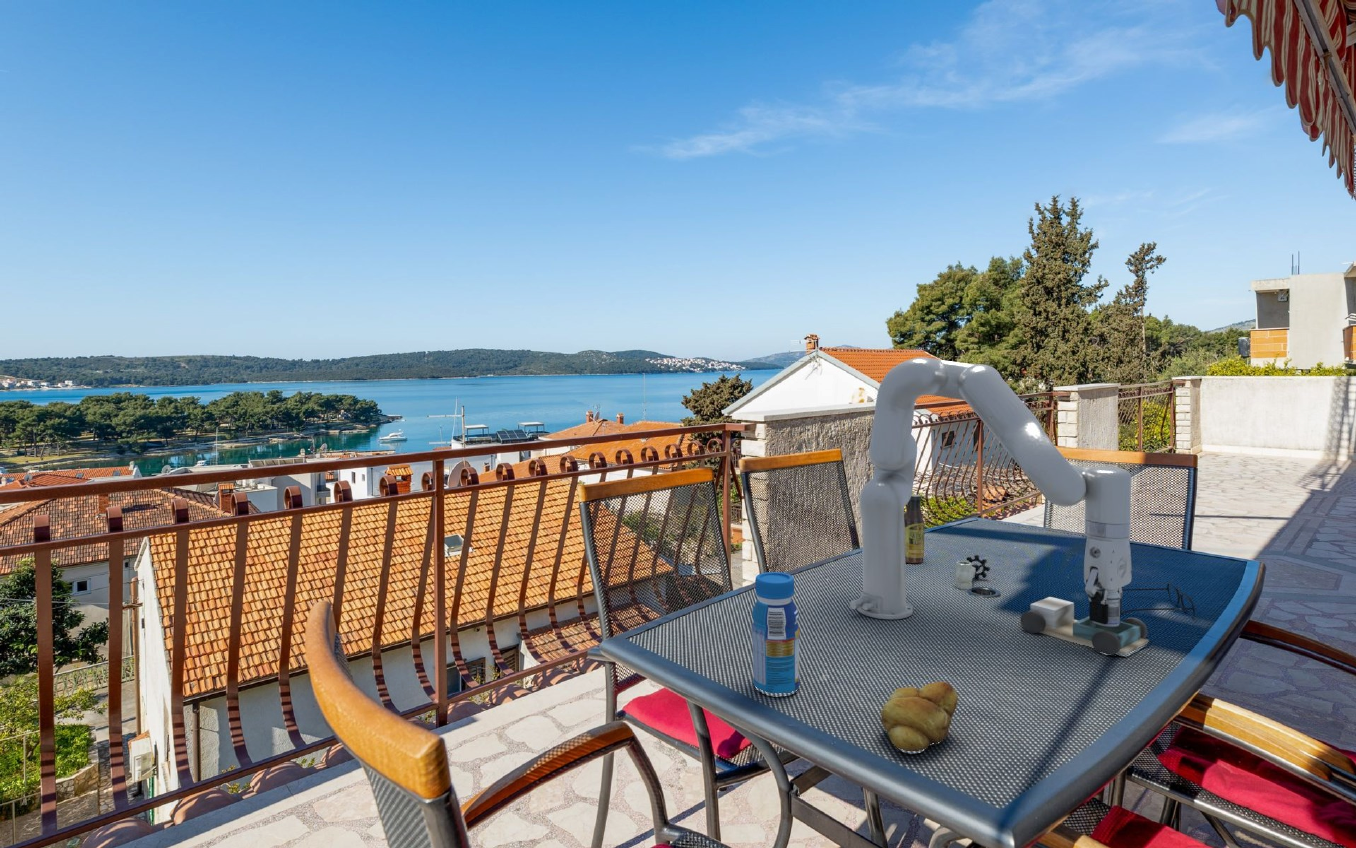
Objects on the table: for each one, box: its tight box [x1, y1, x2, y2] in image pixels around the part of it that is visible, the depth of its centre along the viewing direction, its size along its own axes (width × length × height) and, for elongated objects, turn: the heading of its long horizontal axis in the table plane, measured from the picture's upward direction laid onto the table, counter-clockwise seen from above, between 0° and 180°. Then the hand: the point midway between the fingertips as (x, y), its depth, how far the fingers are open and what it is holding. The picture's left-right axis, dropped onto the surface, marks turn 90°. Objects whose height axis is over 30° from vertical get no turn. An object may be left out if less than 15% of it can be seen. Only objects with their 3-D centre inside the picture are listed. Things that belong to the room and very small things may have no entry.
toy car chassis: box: [1020, 596, 1150, 656], centre depth 133 cm, size 13×20×5 cm, turn 33°
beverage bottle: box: [750, 571, 801, 693], centre depth 113 cm, size 8×8×20 cm
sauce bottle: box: [904, 493, 926, 564], centre depth 190 cm, size 6×6×20 cm
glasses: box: [1121, 583, 1196, 617], centre depth 149 cm, size 14×15×5 cm
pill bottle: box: [1093, 584, 1121, 627], centre depth 129 cm, size 5×5×8 cm
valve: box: [954, 554, 991, 591], centre depth 168 cm, size 7×7×12 cm
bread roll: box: [880, 681, 959, 751], centre depth 96 cm, size 13×10×8 cm
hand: (1105, 618), depth 129 cm, fingers closed on pill bottle, 4 cm apart
